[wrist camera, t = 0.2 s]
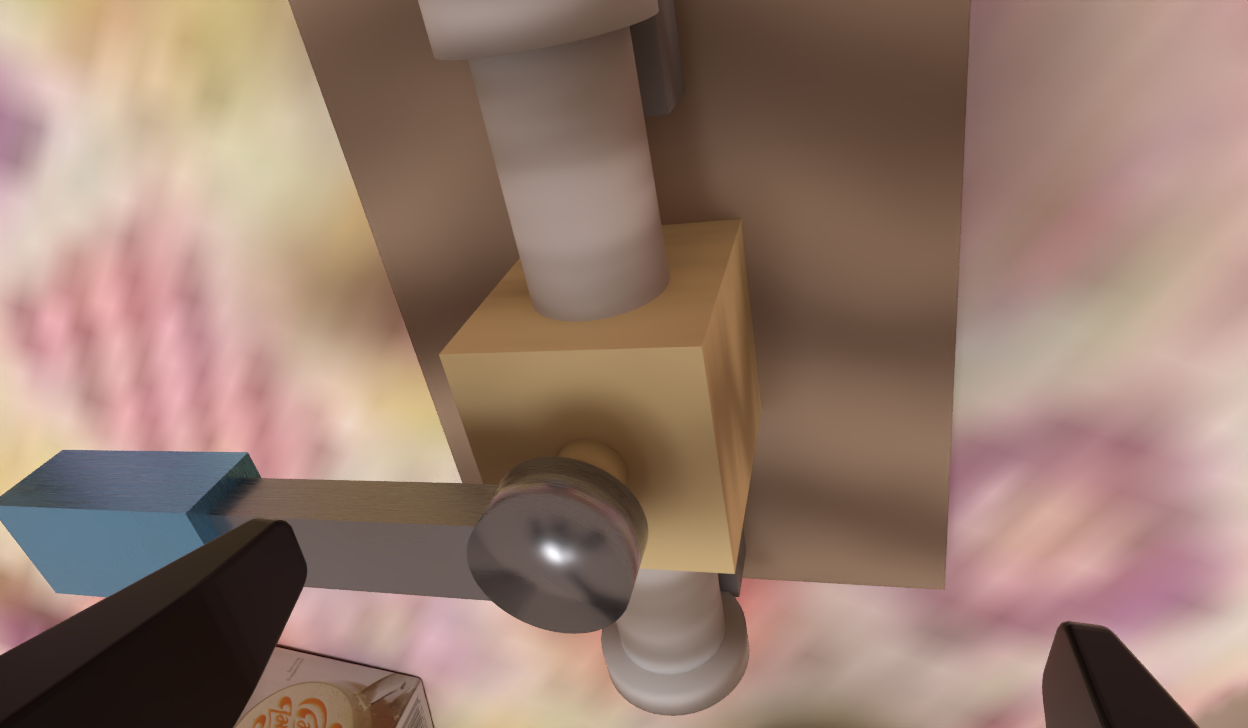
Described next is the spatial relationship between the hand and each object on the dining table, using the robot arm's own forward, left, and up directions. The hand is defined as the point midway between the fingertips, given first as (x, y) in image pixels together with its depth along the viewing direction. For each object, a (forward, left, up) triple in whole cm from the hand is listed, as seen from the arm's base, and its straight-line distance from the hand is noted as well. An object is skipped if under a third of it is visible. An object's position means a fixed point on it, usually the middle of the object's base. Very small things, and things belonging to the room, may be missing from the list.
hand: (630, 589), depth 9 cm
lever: (-4, +9, -5) cm, 11 cm away
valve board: (-4, +3, -14) cm, 15 cm away
